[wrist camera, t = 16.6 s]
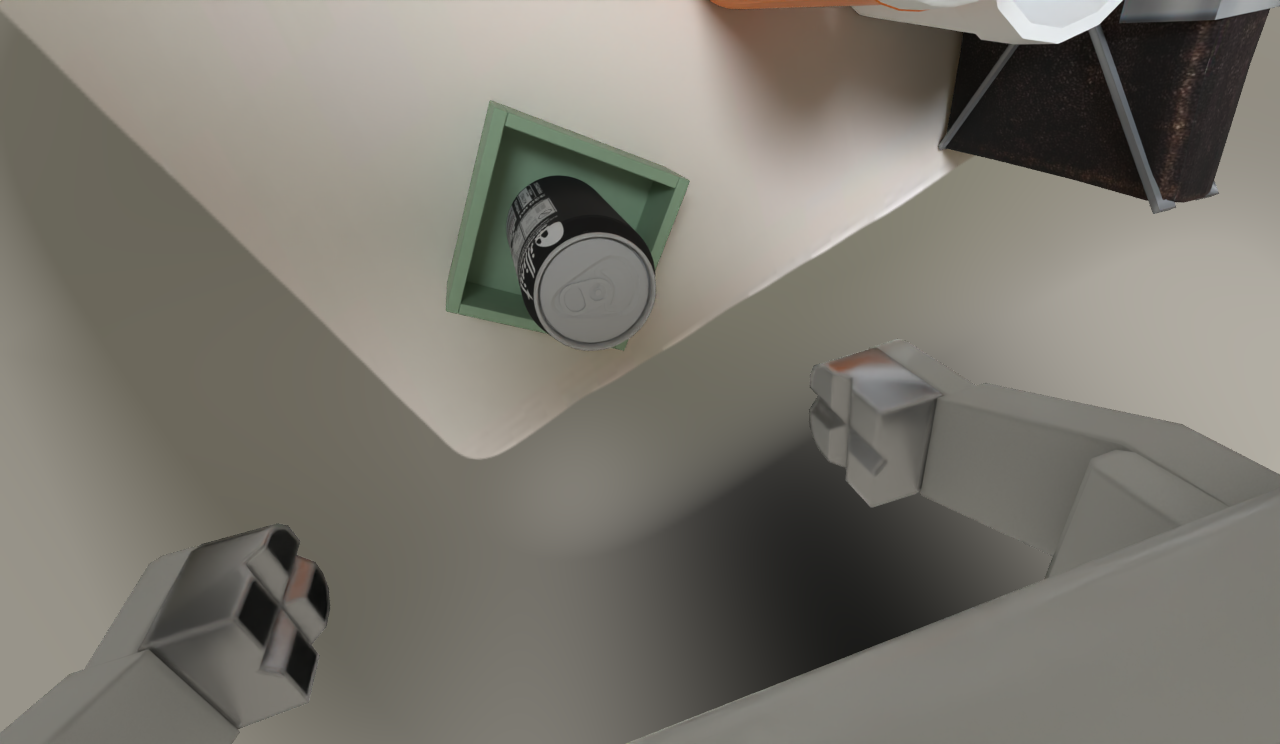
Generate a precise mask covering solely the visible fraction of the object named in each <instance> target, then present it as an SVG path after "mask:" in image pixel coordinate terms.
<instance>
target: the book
mask: <svg viewBox="0 0 1280 744" xmlns="http://www.w3.org/2000/svg"><path fill="white" fill-rule="evenodd" d="M1278 6H1280V0H1123V1H1122V2H1121V3H1120V4H1119V5H1118V6H1117V7H1116V8H1115V9H1114V10H1113V11H1112V12H1111V13H1110V14H1109V15H1108V16H1107V17H1106V18H1105V19H1104V20H1103V21H1102V22H1101V23H1100V24H1099V25H1097V26H1095V27H1093V28H1091V29H1089V30H1087V31H1085V32H1083V33H1080V34H1078V35H1076V36H1074V37H1072V38H1070V39H1068V40H1065V41H1063V42H1061V43H1059V44H1008V43H1001V42H994V41H987V40H981V39H980V38H979V37H978V36H977V35H976V34H974V33H967V32H963V38H962V45H961V52H960V58H959V65H958V71H957V76H956V82H955V88H954V94H953V100H952V106H951V111H950V117H949V123H948V129H947V134H946V136H945V137H944V139H943V140H942V142H941V143H940V144H939V146H938V147H939V149H940V150H943V149H951V150H955V151H960V152H964V153H968V154H972V155H977V156H981V157H985V158H990V159H994V160H998V161H1002V162H1006V163H1010V164H1014V165H1018V166H1022V167H1026V168H1030V169H1033V170H1037V171H1041V172H1045V173H1049V174H1053V175H1057V176H1061V177H1065V178H1069V179H1073V180H1077V181H1080V182H1084V183H1087V184H1091V185H1094V186H1098V187H1101V188H1105V189H1108V190H1112V191H1115V192H1119V193H1122V194H1126V195H1130V196H1133V197H1136V198H1140V199H1143V200H1148V201H1149V204H1150V206H1151V209H1152V212H1153V214H1155V213H1159V212H1163V211H1167V210H1170V209H1173V208H1175V207H1176V205H1175V202H1188V201H1191V200H1199V199H1203V198H1207V197H1211V196H1214V195H1216V194H1219V192H1218V189H1217V187H1216V184H1215V182H1214V178H1215V175H1216V172H1217V169H1218V166H1219V162H1220V159H1221V156H1222V152H1223V149H1224V146H1225V143H1226V140H1227V137H1228V133H1229V130H1230V127H1231V124H1232V121H1233V117H1234V114H1235V111H1236V108H1237V104H1238V101H1239V98H1240V95H1241V92H1242V88H1243V84H1244V82H1245V79H1246V75H1247V72H1248V69H1249V66H1250V63H1251V60H1252V57H1253V54H1254V52H1255V49H1256V46H1257V43H1258V40H1259V38H1260V35H1261V32H1262V29H1263V27H1264V24H1265V21H1266V18H1267V16H1268V13H1269V10H1270V8H1274V7H1278Z"/></svg>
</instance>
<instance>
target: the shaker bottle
mask: <svg viewBox="0 0 1280 744" xmlns="http://www.w3.org/2000/svg"><path fill="white" fill-rule="evenodd" d="M710 1H711V2H713V3H715V4H716V5H718V6H721V7H724V8H728V9H763V8H796V7H830V6H863V5H884V6H887V7H889V8H892V9H895V10H898V11H914V12H920V11H925V10H929V9H939V8H949V7H956V6H961V5H965V4H970V3H974V2H977V1H979V0H710Z"/></svg>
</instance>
